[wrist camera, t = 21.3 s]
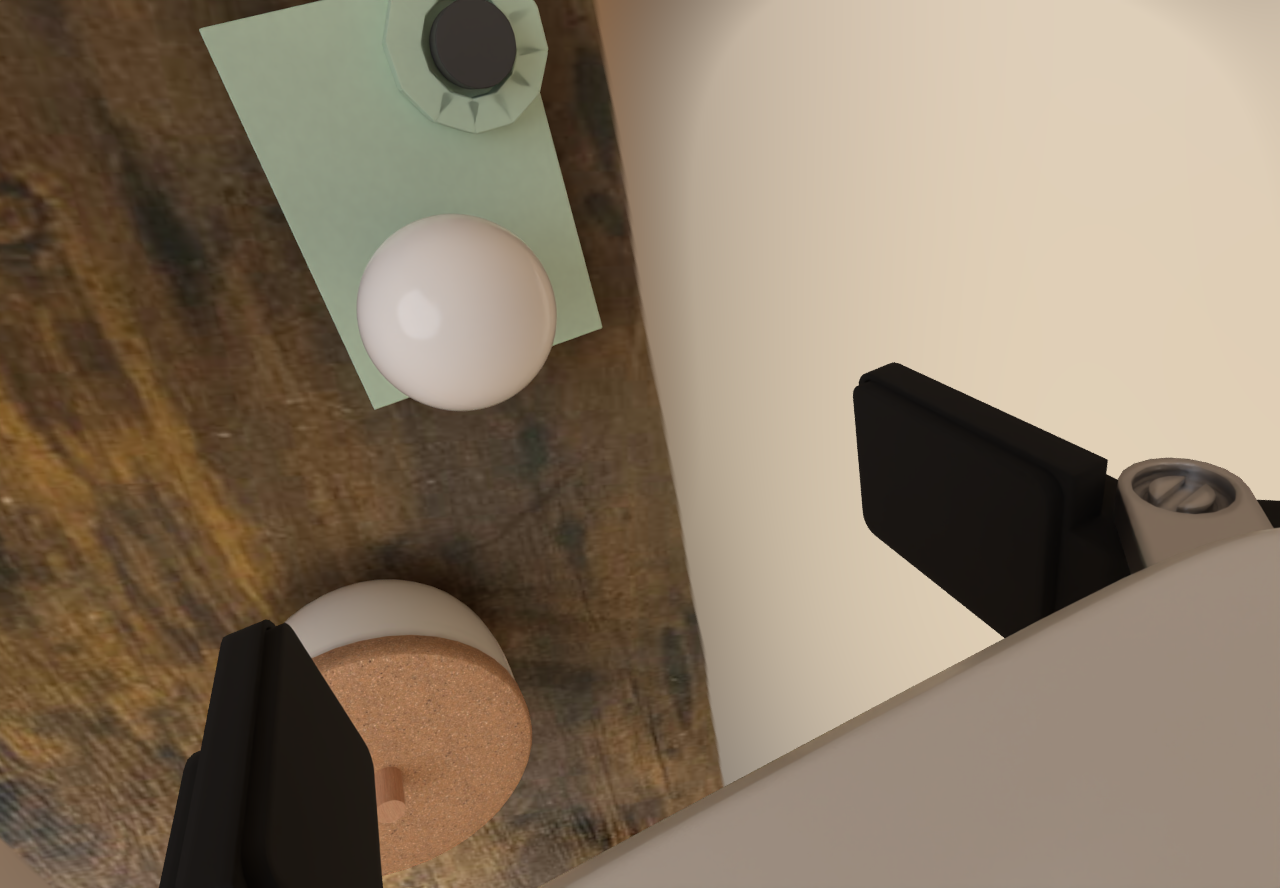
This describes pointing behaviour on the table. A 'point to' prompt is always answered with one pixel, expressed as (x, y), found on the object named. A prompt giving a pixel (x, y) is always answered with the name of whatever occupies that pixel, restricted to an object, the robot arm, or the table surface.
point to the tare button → (472, 44)
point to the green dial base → (397, 145)
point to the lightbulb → (456, 312)
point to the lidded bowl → (421, 709)
